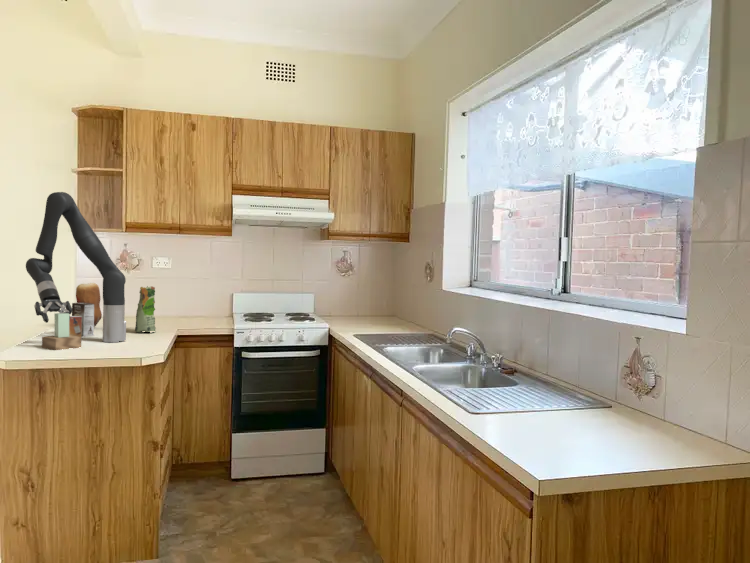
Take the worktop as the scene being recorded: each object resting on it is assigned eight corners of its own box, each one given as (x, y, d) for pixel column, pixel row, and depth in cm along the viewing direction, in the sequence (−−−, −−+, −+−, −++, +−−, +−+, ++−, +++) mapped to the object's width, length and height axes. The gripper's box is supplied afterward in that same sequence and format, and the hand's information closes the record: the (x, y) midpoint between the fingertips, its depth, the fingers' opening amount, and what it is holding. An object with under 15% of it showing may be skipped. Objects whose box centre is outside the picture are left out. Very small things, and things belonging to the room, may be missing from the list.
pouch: (153, 331, 318) (154, 285, 318) (159, 333, 309) (160, 286, 308) (131, 331, 312) (132, 285, 311) (137, 334, 302) (138, 286, 301)
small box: (62, 339, 278) (63, 316, 278) (62, 337, 283) (63, 315, 283) (81, 338, 282) (82, 316, 282) (81, 337, 287) (81, 315, 287)
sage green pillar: (65, 335, 256) (65, 312, 256) (69, 336, 253) (69, 313, 253) (54, 336, 253) (54, 313, 252) (58, 337, 250) (58, 314, 249)
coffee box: (70, 334, 293) (71, 302, 292) (81, 333, 299) (82, 302, 298) (83, 336, 289) (83, 303, 289) (94, 335, 295) (95, 303, 294)
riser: (67, 345, 260) (67, 334, 260) (81, 348, 254) (81, 336, 254) (42, 348, 251) (42, 336, 251) (55, 351, 245) (55, 339, 245)
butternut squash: (71, 327, 321) (72, 282, 320) (97, 326, 330) (98, 282, 329) (78, 330, 311) (79, 283, 310) (105, 329, 319) (106, 283, 319)
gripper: (33, 287, 255) (42, 316, 248) (67, 287, 266) (77, 314, 259) (28, 299, 259) (37, 327, 252) (62, 298, 270) (72, 325, 262)
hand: (57, 321), depth 255 cm, fingers open, 8 cm apart
